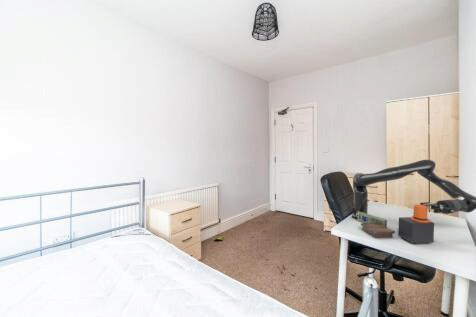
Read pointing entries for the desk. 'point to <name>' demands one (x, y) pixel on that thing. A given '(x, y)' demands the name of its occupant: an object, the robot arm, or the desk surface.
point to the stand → (377, 230)
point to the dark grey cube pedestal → (416, 231)
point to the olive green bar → (370, 218)
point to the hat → (420, 214)
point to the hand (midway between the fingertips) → (426, 208)
